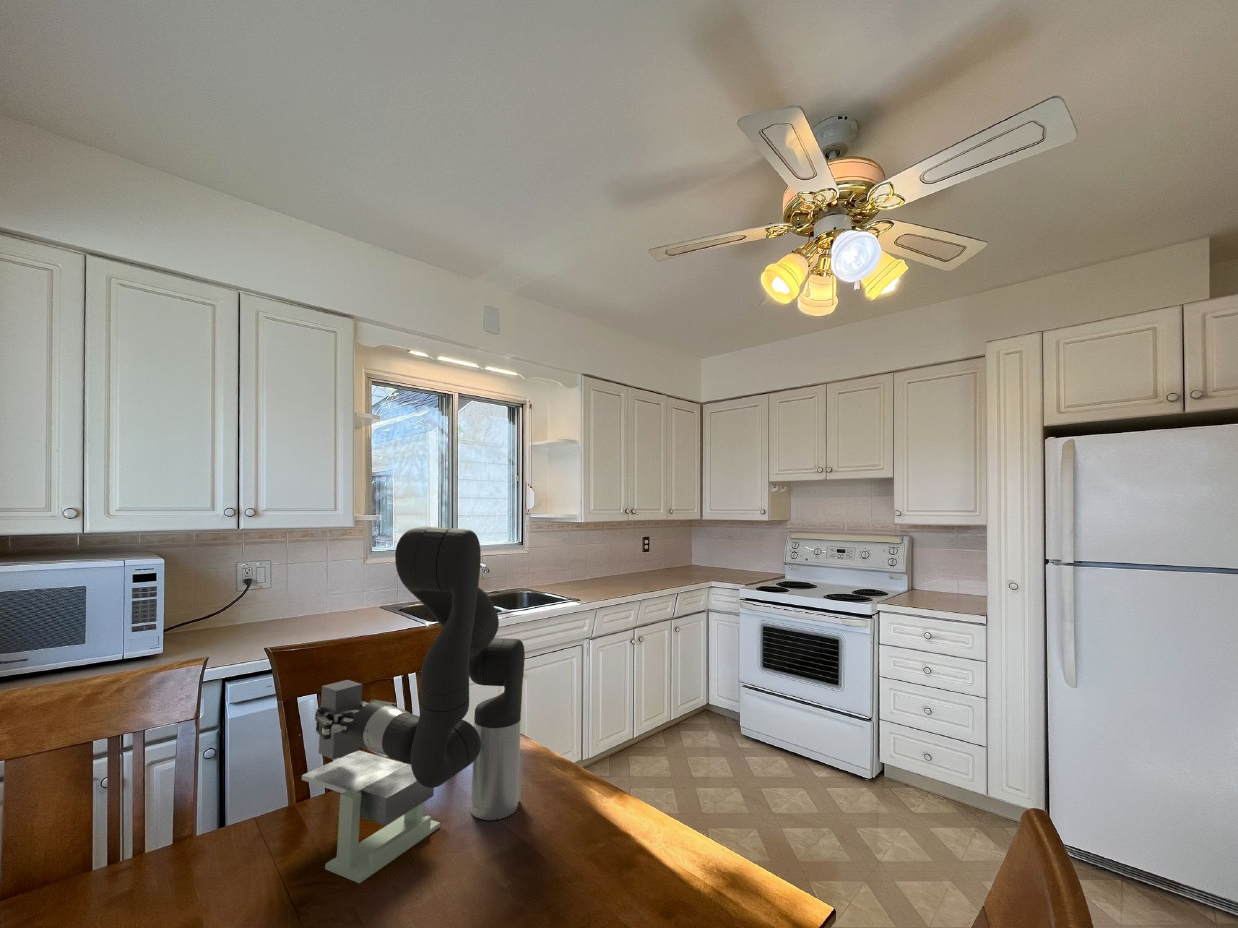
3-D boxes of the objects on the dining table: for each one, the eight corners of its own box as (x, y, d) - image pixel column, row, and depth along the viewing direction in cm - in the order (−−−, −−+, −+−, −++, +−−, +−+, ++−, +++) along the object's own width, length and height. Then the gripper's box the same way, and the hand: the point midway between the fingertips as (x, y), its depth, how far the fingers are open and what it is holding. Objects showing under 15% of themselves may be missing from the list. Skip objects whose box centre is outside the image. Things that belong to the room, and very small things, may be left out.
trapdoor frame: (359, 883, 90) (363, 805, 91) (325, 868, 93) (329, 794, 94) (439, 826, 106) (442, 761, 107) (408, 816, 110) (410, 753, 111)
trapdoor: (381, 827, 93) (383, 799, 93) (299, 798, 101) (301, 773, 102) (436, 794, 104) (437, 769, 104) (357, 770, 112) (359, 747, 113)
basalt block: (318, 752, 104) (321, 685, 106) (344, 744, 108) (347, 679, 110) (332, 759, 102) (336, 690, 103) (359, 750, 106) (362, 684, 107)
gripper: (421, 695, 104) (369, 680, 113) (346, 718, 92) (294, 698, 102) (420, 738, 103) (367, 718, 113) (343, 766, 91) (292, 742, 101)
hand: (333, 709), depth 107 cm, fingers closed on basalt block, 5 cm apart
